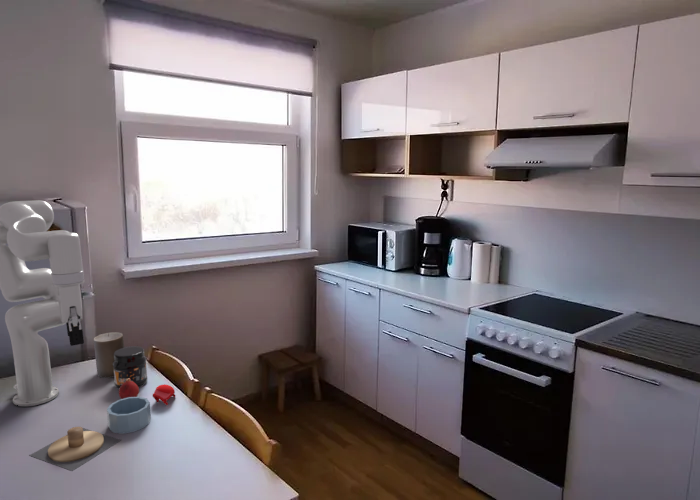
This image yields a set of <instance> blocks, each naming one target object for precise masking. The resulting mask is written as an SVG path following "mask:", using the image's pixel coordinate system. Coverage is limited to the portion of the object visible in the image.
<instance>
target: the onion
mask: <svg viewBox="0 0 700 500" xmlns="http://www.w3.org/2000/svg"><path fill="white" fill-rule="evenodd" d="M130 380H131V379H130V378H128V379H127V380H126V382H124V383H123V384H122V385H121V387H120V389H119V388H118V396H119V398H120V399H124V398H128V397H138V395H139V392H140V389H139V388H140V387H138V386H137V384H136V383H134V382H132V381H130Z"/></svg>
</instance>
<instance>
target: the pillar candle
mask: <svg viewBox="0 0 700 500" xmlns="http://www.w3.org/2000/svg"><path fill="white" fill-rule="evenodd" d="M93 345H94V346H93V347H94V355H95V363H96V364H95V365H96V375H97V376H98V378H105V379H107V378H108V379H109V378H114V369H113V361H114V352H115V351H116V350H118V349H121V348H124V347H125V344H124V335H123V332H115V331H114V332H106V333H102V334H101V333H100V334H98V335H97V336H95V337H94V338H93Z"/></svg>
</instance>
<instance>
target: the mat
mask: <svg viewBox="0 0 700 500" xmlns="http://www.w3.org/2000/svg"><path fill="white" fill-rule="evenodd" d="M82 428H83V431H92V430H90V429H88V428H84V427H82ZM101 434H102V435H103V438H104V443H103V446H102V447H101V448H100V449H99V450H98V451H97V452H95V453H94V454H92V455H90V456H88V457H85V458H83V459H79V460H75V461H70V462H57V461H53V460H51V459H50V458H49V456H48V449H49V447H50V446H51V444H53V443H54V442H55V441H53V442H51V443H49V444H47V445H45V446H44V447H42V448H40V449H39V450H36V451H34V452H32V453H31V454H29V457H32V458H35V459H37V460H41V461H42V462H46V463H48V464H52V465H54V466H56V467H60V468H63V469H66V470H68V471H71V472H73V471H75V470H76V469H77V468H80V467H81V466H83V465H84V464H86V463H87V462H90V460H92V459H94V458H96V457H97V456H98V455H101V454H102V453H103V452H106V451H107V450H108V449H110V448H112V447H113V446H114V445H117V444H119V443H120V442H121V441H122V439H120V438H117V437H114V436H110V435H107V434H104V433H101Z"/></svg>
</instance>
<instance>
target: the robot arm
mask: <svg viewBox="0 0 700 500" xmlns="http://www.w3.org/2000/svg"><path fill="white" fill-rule="evenodd" d="M54 221H55V213H54V209H53V208H52V206H51V204H49V202H47V201H44V200H41V199H40V200H39V199H37V200H19V201H15V200H13V201H9V202H5V203H3V204H2V205H0V292H1V294H2V297H3V298H4V300H6V301H7V302H9V303H18V302H24V301H28V300H29V301H30V300H35V299H39V298H43V299H42V300H35V301H30V302H24V303H20V304H16V305H14V306H11V307H10V308H9V309H7V311H6V312H5V315H4V321H5V325H6V328H7V331H8V334H9V337H10V338H9V339H10V341H11V348H12V356H13V364H14V371H15V380H16V383H15V384H14V385H13V389H15V390H16V391H17V392H16V395H14V396H13V398H12V403H13V405H15V406H17V405H18V406H17V407H33V406H37V405H42V404H46V403H48V402H51V401H52V400H54V399H55V398H56V397H58V395H59V393H60V392H59V388H58V387H56V386H55V385H53V377H52V368H51V359H50V351H49V350H50V349H49V344H48V341H47V340H46V339H45V338H44V337H43V336H41V335H40V334H38V333H39V332H42V331H44V330H48V329H52V328H57V327H60V326H61V327H62V326H64V325H65V326H66V331H67V336H68V339H69V345H70V347H72V346H73V347H74V346H78V345H83V344H84V343H85V341H84V332H83V328H82V323H81V321H83V299H82V291H81V289H82V288H81V285H83V284H84V283H85V273H84V266H83V257H82V247H81V239H80V235H79V234H78V233H76V232H70V231H68V230H65V229H61V230H57V229H56V230H51V231H50V230H49V229H50V228H51V226H52V225H53V223H54ZM48 230H49V231H48ZM42 260H49V267H50V268H48V267H42V268H41V267H40V268H34V269H29V268H28V267H27V265H26V262H36V261H42Z"/></svg>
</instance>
